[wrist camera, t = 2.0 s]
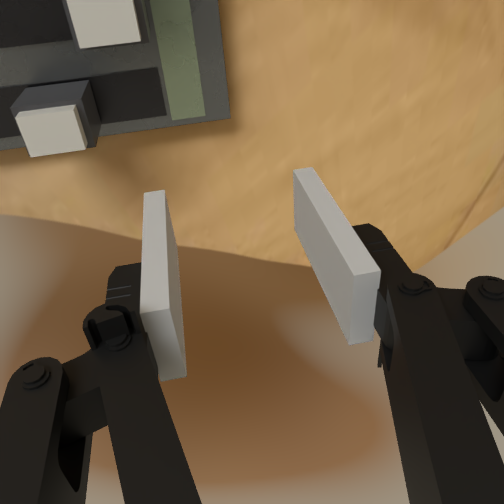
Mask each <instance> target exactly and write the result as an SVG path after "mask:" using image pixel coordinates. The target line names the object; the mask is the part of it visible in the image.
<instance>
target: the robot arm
mask: <svg viewBox="0 0 504 504" xmlns="http://www.w3.org/2000/svg"><path fill="white" fill-rule="evenodd" d="M293 187H294V223H295V231H296V233H297V235H298V238H299V240H300V242H301V244H302V246H303V248H304V250H305V252H306V255H307V257H308V259H309V261H310V263H311V265H312V267H313V270H314V272H315V274H316V276H317V278H318V280H319V282H320V284H321V287H322V289H323V291H324V293H325V295H326V297H327V299H328V301H329V304H330V306H331V308H332V310H333V312H334V314H335V316H336V319H337V321H338V323H339V325H340V327H341V329H342V332H343V333H344V336H345V338H346V340H347V342H348V344H349V345H353V344H359V343H363V342H369V341H373V336H374V328H375V329H376V331H377V332H378V334H379V336H380V338H381V341H380V349H379V357H378V367H381V365H382V364H383V370H384V375H385V380H386V385H387V390H388V395H389V400H390V405H391V410H392V415H393V420H394V426H395V430H396V436H397V441H398V446H399V451H400V456H401V461H402V466H403V471H404V476H405V481H406V487H407V492H408V497H409V501H410V504H504V464H503V461H502V458H501V456H500V453H499V450H498V448H497V445H496V443H495V440H494V437H493V435H492V432H491V429H490V427H489V425H488V422H487V419H486V416H485V414H484V411H483V408H482V406H481V403H482V404H483V406H484V408H485V409H486V411H487V412H488V414H489V415H490V416H491V418H492V419H493V421H494V422H495V424H496V425H497V427H498V428H499V430H500V431H501V433H502V434H503V436H504V280H502V279H500V278H497V277H492V276H478V277H475V278H472V279H471V280H470V281H469V282H468V283H467V285H466V289H448V288H438V287H436V286H435V285H434V283H433V282H432V281H431V280H429V279H428V278H426V277H425V276H422V275H419V274H416V273H412V271H411V270H410V269H409V267H408V266H407V265H406V263H405V262H404V261H403V259H402V258H401V257H400V255H399V254H398V253H397V251H396V250H395V249H393V246H392V245H391V243H390V242H389V241H388V239H387V238H386V237H385V235H384V234H383V233H382V231H381V230H379V229H378V228H376V227H374V226H373V225H371V224H369V223H368V224H362V225H356V226H351V225H350V223H349V222H348V220H347V219H346V217H345V216H344V214H343V213H342V211H341V210H340V208H339V207H338V205H337V204H336V202H335V201H334V199H333V198H332V196H331V195H330V193H329V192H328V190H327V189H326V187H325V185H324V184H323V182H322V181H321V179H320V178H319V176H318V175H317V173H316V172H315V170H314V169H313V167H309V168H303V169H296V170H293ZM83 331H84V333H85V335H86V337H87V340H88V342H89V345H90V347H91V349H90V350H89V351H87V352H86V353H85V354H83V355H81V356H79V357H77V358H75V359H73V360H70V361H68V362H66V363H63V364H61V363H60V362H59V361H58V360H57V359H54V358H51V357H43V358H38V359H35V360H32V361H29V362H28V363H26V364H24V365H23V366H21V367H20V368H19V369H18V370H17V371H16V372H15V373H14V374H13V375H12V377H11V378H10V380H9V382H8V384H7V388H6V391H5V394H4V397H3V401H2V404H1V407H0V504H85V499H86V491H87V482H88V472H89V463H90V454H91V444H92V436H93V432H95V431H97V430H99V429H101V428H103V427H105V426H107V425H108V427H109V432H110V437H111V441H112V446H113V451H114V455H115V460H116V465H117V469H118V474H119V479H120V483H121V488H122V492H123V497H124V501H125V504H202V503H201V500H200V497H199V495H198V492H197V489H196V486H195V484H194V480H193V478H192V475H191V472H190V469H189V466H188V463H187V461H186V458H185V455H184V452H183V449H182V446H181V443H180V441H179V438H178V435H177V432H176V429H175V426H174V424H173V421H172V418H171V415H170V412H169V409H168V406H167V404H166V401H165V398H164V395H163V392H162V389H161V387H160V384H159V381H158V374H159V377H160V380H161V381H167V380H172V379H177V378H182V377H187V371H186V358H185V344H184V331H183V317H182V304H181V291H180V277H179V264H178V251H177V245H176V240H175V236H174V231H173V226H172V222H171V217H170V213H169V208H168V203H167V199H166V194H165V190H159V191H152V192H146V193H144V208H143V236H142V262H141V263H135V264H129V265H123V266H118V267H116V268H115V269H114V271H113V272H112V274H111V275H110V276H109V279H108V286H107V295H106V302H105V304H103V305H101V306H99V307H96V308H95V309H94V310H92V311H91V312H90V313H89V314H88V315H87V316H86V318H85V319H84V321H83ZM479 400H480V401H479ZM480 402H481V403H480Z"/></svg>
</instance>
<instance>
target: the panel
mask: <svg viewBox="0 0 504 504" xmlns="http://www.w3.org/2000/svg"><path fill="white" fill-rule="evenodd" d="M144 1H145V6H146V11H147V16H148V21H149V27H150V43H142V44H134V45H126V46H117V47H109V48H101V49H93V50H85V51H76V48H75V44H74V41H73V37H72V34H71V30H70V27H69V23H68V20H67V16H66V13H65V9H64V6H63V2H62V0H0V150H7V149H14V148H21V147H25V144H24V142H23V139H22V137H21V134H20V132H19V129H18V126H17V124H16V121H15V119H14V116H13V114H12V111H11V109H10V107H11V106H12V105H13V103H14V102H15V101H16V100H17V98H18V97H19V96H20V95H21V93H22V92H23V91H24V90H25V88H29V87H37V86H45V85H53V84H60V83H68V82H76V81H84V80H89V82H90V85H91V89H92V92H93V96H94V99H95V103H96V106H97V110H98V114H99V117H100V121H101V124H102V125H101V129H100V132H99V136H98V137H100V136H107V135H114V134H121V133H128V132H136V131H143V130H150V129H157V128H164V127H171V126H178V125H186V124H193V123H200V122H207V121H214V120H221V119H229V118H231V117H230V108H229V98H228V89H227V80H226V71H225V62H224V53H223V43H222V34H221V25H220V16H219V7H218V0H144Z"/></svg>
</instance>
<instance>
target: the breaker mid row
mask: <svg viewBox="0 0 504 504" xmlns="http://www.w3.org/2000/svg"><path fill="white" fill-rule="evenodd" d="M62 2H63V6H64V9H65V13H66V16H67V20H68V23H69V27H70V30H71V34H72V37H73V41H74V44H75V48H76V51H85V50H93V49H101V48H109V47H117V46H126V45H134V44H142V43H150V27H149V21H148V16H147V11H146V6H145V1H144V0H62Z"/></svg>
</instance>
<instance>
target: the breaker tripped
mask: <svg viewBox="0 0 504 504" xmlns="http://www.w3.org/2000/svg"><path fill="white" fill-rule="evenodd" d="M10 109H11V111H12V114H13V116H14V119H15V121H16V124H17V126H18V129H19V132H20V134H21V137H22V139H23V142H24V144H25V147H26V149H27V152H28V154H29V156H30V157H37V156H44V155H51V154H58V153H65V152H72V151H79V150H86V148H91V147H96V144H97V140H98V136H99V132H100V129H101V125H102V124H101V121H100V117H99V114H98V110H97V106H96V103H95V99H94V96H93V92H92V89H91V85H90V82H89V80H84V81H76V82H68V83H60V84H53V85H45V86H37V87H29V88H25V90H24V91H23V92H22V93H21V95H20V96H19V97H18V98H17V100H16V101H15V102H14V103H13V105H12V106H11V107H10Z"/></svg>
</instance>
